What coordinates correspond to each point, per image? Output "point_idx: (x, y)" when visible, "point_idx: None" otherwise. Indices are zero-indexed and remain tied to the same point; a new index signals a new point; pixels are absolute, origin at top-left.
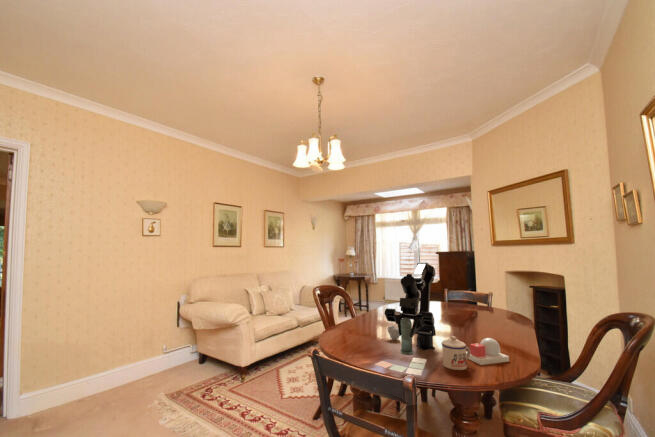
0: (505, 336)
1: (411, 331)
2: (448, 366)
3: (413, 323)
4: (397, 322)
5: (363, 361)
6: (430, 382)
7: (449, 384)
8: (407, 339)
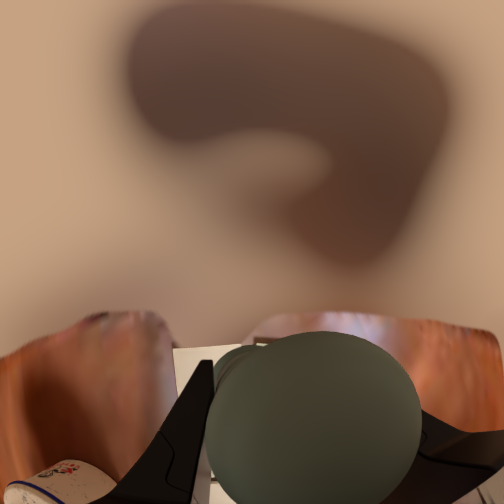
0: None
1: (206, 392)
2: (94, 471)
3: (185, 486)
4: (439, 423)
5: (425, 369)
6: (130, 315)
7: (71, 327)
8: (243, 354)
